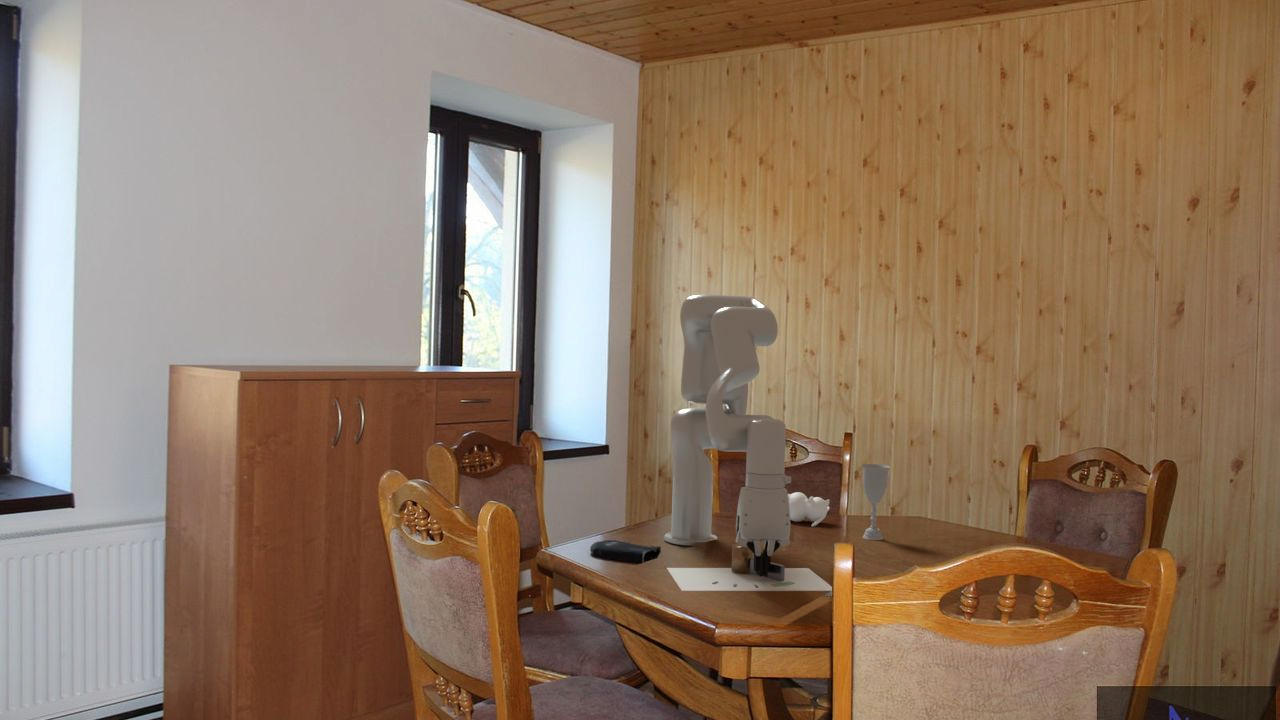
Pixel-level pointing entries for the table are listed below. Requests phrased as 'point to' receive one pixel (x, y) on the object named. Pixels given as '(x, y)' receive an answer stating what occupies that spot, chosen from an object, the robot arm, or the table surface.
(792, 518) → the cat figurine
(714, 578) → the dial board
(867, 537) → the chalice
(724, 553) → the table surface
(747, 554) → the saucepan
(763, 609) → the table surface
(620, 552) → the electronic device
